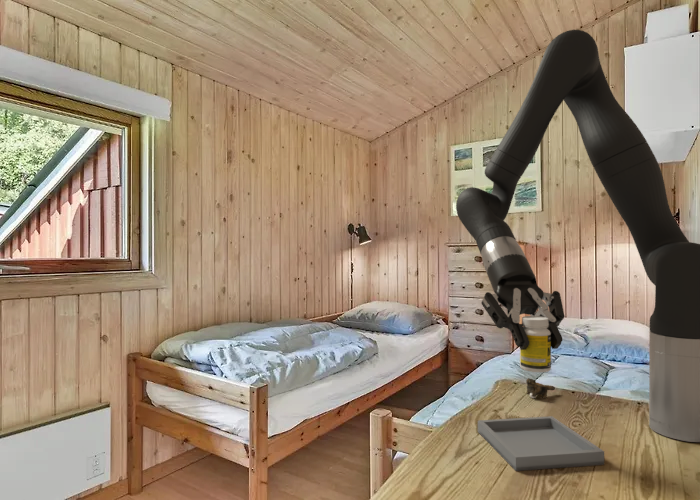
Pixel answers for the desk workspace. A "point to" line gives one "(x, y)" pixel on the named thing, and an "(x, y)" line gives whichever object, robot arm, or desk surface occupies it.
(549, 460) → the tray
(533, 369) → the supplement bottle
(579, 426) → the desk surface
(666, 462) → the desk surface
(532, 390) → the cat figurine
